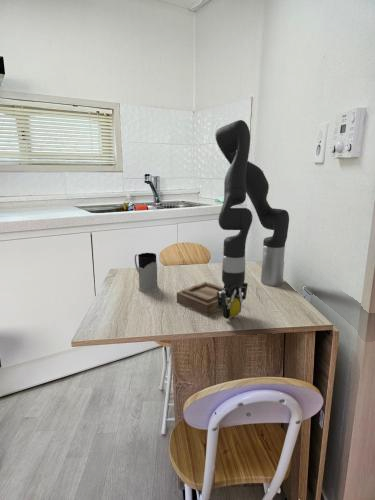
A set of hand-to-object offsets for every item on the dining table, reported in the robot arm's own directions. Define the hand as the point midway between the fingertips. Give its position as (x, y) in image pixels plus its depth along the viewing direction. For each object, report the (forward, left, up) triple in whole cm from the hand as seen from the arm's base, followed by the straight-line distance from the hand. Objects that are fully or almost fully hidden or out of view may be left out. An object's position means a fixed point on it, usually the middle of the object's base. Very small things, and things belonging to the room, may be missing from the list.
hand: (232, 314), depth 107 cm
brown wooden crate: (-3, -15, -1) cm, 15 cm away
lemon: (0, 0, -1) cm, 1 cm away
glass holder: (+4, -45, -1) cm, 45 cm away
